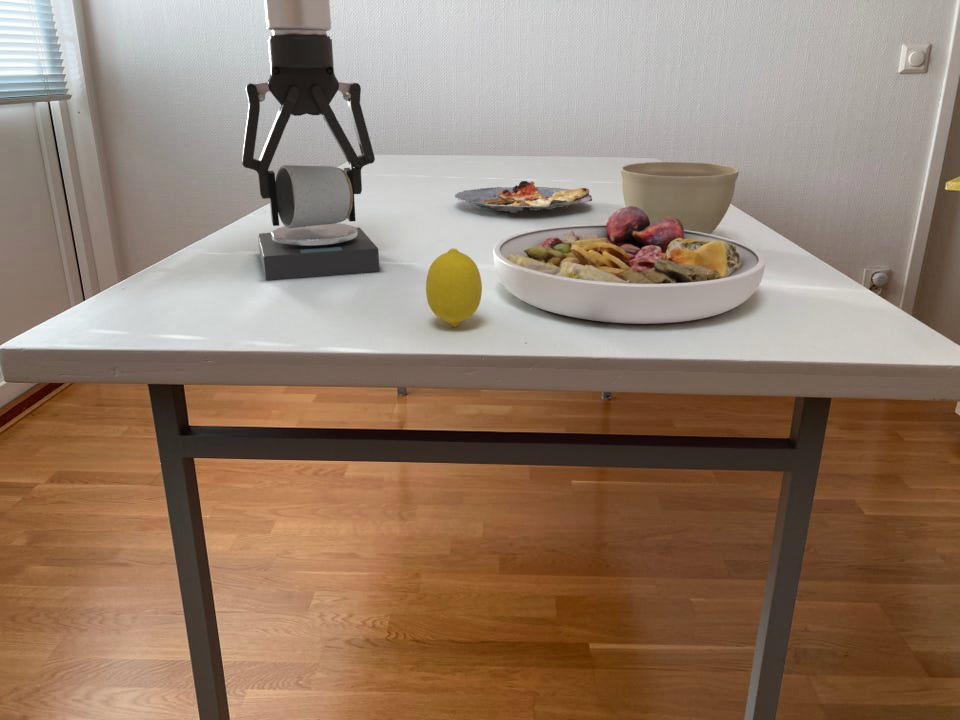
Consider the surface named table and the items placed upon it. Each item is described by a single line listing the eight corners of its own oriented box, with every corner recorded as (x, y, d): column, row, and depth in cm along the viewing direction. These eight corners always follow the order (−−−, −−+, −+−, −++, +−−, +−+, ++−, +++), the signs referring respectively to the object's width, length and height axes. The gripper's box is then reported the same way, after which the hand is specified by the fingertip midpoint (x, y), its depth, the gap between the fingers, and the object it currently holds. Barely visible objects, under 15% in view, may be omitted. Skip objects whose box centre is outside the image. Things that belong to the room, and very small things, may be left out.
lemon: (488, 321, 80) (488, 244, 77) (471, 338, 75) (471, 256, 72) (438, 316, 81) (436, 240, 79) (418, 332, 77) (416, 252, 74)
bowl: (783, 342, 74) (795, 261, 71) (472, 325, 78) (472, 249, 76) (739, 266, 101) (746, 205, 98) (511, 257, 106) (511, 199, 103)
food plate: (531, 192, 158) (531, 175, 157) (617, 208, 141) (619, 188, 140) (431, 206, 143) (430, 186, 142) (514, 225, 126) (514, 203, 125)
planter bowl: (633, 228, 124) (638, 158, 120) (738, 238, 117) (747, 164, 113) (602, 249, 110) (606, 171, 107) (718, 261, 104) (728, 178, 100)
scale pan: (275, 248, 95) (274, 242, 95) (269, 231, 105) (268, 225, 105) (364, 242, 98) (363, 236, 98) (350, 226, 108) (350, 220, 108)
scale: (265, 280, 95) (263, 255, 94) (259, 255, 107) (257, 232, 106) (379, 271, 99) (378, 247, 98) (360, 248, 111) (359, 226, 110)
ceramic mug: (358, 225, 99) (354, 164, 97) (297, 232, 95) (291, 168, 92) (325, 214, 107) (321, 157, 105) (267, 220, 103) (261, 161, 101)
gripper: (383, 35, 99) (390, 212, 107) (204, 33, 93) (226, 221, 101) (395, 33, 93) (402, 222, 101) (203, 31, 86) (227, 232, 95)
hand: (313, 221), depth 101 cm, fingers closed on ceramic mug, 9 cm apart
